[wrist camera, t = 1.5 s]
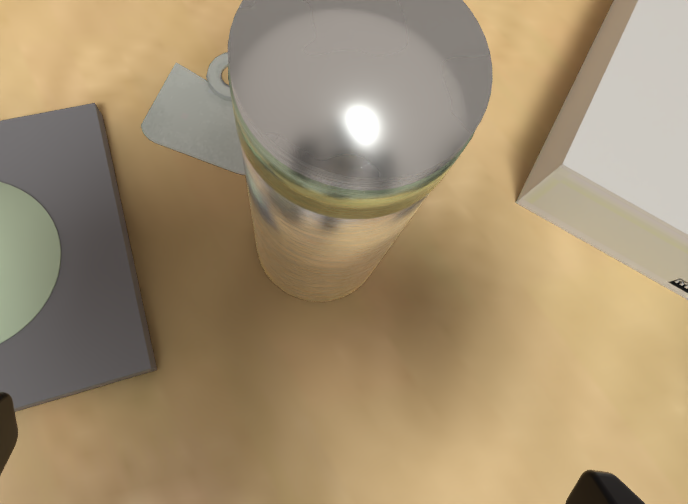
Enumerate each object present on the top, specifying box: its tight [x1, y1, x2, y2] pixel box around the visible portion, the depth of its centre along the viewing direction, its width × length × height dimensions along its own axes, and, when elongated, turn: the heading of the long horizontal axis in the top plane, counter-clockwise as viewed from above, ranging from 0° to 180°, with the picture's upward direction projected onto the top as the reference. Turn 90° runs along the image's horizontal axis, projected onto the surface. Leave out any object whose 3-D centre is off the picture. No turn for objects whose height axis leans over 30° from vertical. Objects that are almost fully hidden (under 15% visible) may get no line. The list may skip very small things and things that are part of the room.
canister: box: [228, 0, 492, 302], centre depth 17 cm, size 6×6×13 cm
